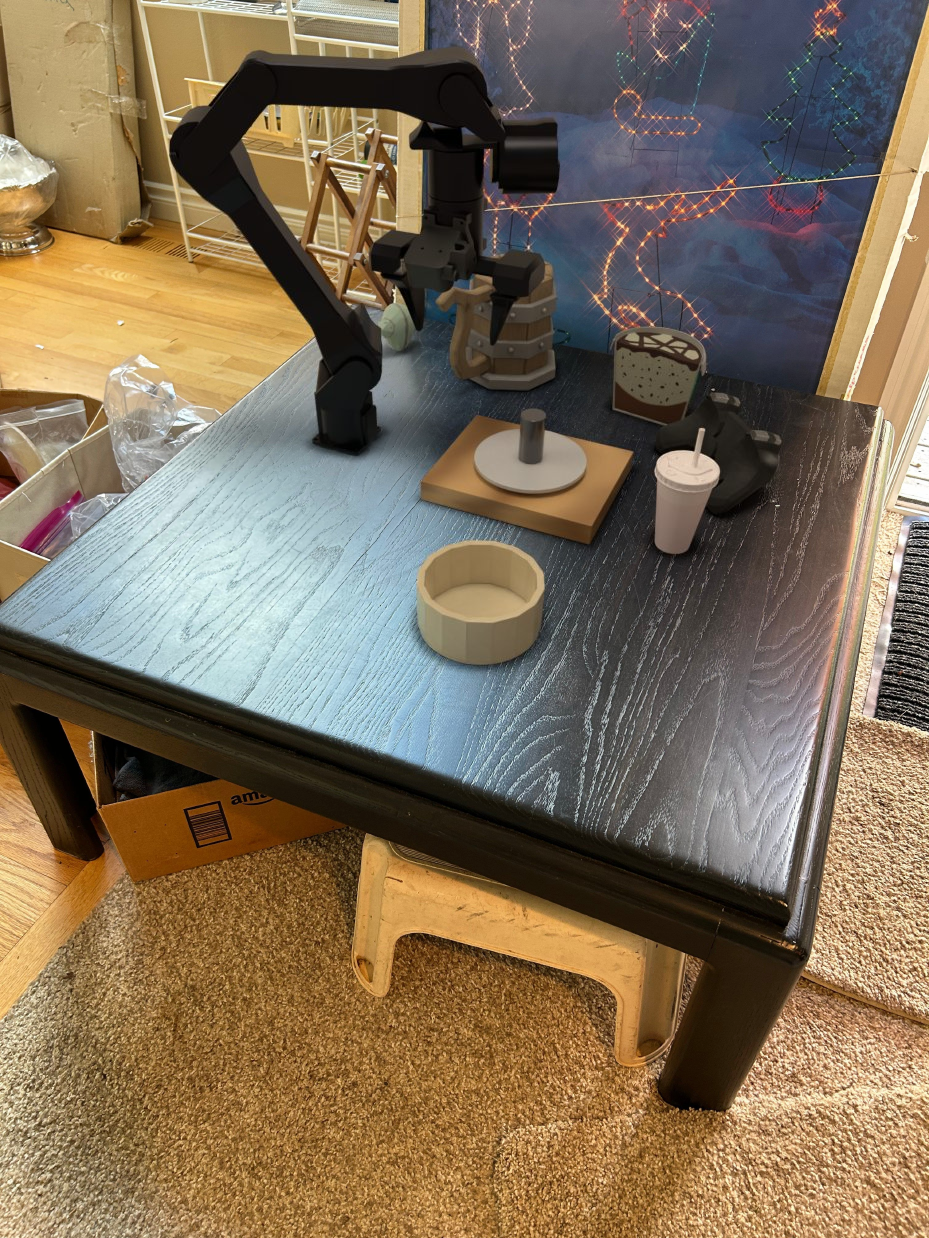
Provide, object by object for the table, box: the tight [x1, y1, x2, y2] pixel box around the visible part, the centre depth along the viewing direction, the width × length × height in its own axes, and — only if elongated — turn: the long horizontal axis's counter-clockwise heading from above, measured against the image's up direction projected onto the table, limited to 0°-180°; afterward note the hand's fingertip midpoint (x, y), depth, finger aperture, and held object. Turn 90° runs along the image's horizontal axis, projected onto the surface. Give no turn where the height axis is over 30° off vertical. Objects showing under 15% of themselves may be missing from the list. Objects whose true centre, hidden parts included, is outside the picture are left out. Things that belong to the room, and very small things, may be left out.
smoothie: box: [654, 428, 720, 555], centre depth 92 cm, size 6×6×14 cm
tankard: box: [435, 253, 558, 392], centre depth 119 cm, size 20×13×15 cm, turn 133°
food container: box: [609, 326, 707, 427], centre depth 114 cm, size 12×6×10 cm, turn 58°
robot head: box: [376, 302, 415, 352], centre depth 127 cm, size 8×4×7 cm, turn 134°
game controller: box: [654, 391, 782, 516], centre depth 104 cm, size 16×7×10 cm, turn 18°
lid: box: [474, 408, 587, 494], centre depth 101 cm, size 13×13×7 cm
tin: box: [416, 539, 546, 666], centre depth 85 cm, size 12×12×5 cm
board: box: [420, 414, 634, 546], centre depth 104 cm, size 20×16×2 cm
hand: (456, 337), depth 103 cm, fingers open, 9 cm apart
